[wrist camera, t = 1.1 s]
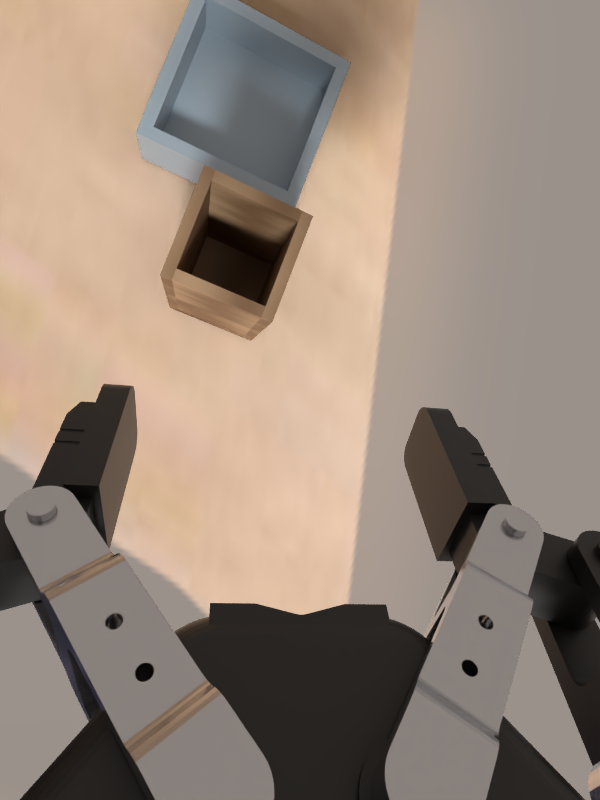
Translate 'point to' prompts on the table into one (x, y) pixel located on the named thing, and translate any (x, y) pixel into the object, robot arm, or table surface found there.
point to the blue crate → (241, 100)
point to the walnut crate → (233, 254)
